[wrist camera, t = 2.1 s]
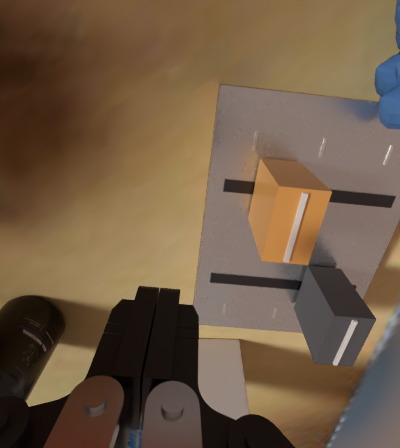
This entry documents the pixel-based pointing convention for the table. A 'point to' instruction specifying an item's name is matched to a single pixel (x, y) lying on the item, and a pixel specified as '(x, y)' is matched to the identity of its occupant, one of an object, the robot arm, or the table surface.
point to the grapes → (390, 84)
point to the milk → (222, 376)
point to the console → (323, 169)
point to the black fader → (332, 316)
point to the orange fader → (287, 211)
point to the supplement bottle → (26, 343)
